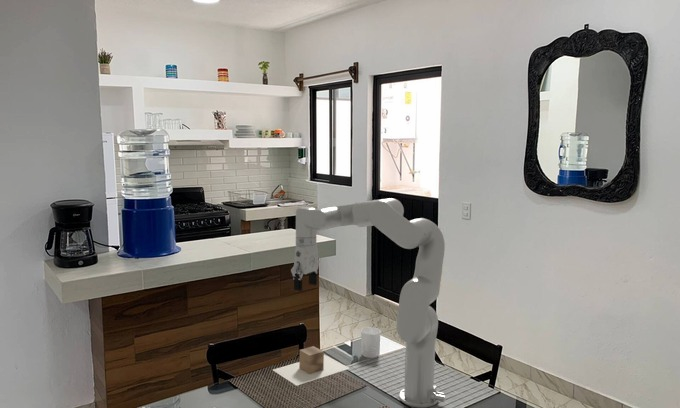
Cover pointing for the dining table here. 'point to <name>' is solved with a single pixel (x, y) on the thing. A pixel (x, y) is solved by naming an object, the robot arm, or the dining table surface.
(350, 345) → the dining table surface
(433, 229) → the robot arm
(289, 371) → the board
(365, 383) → the dining table surface
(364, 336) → the white cup
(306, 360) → the walnut block
